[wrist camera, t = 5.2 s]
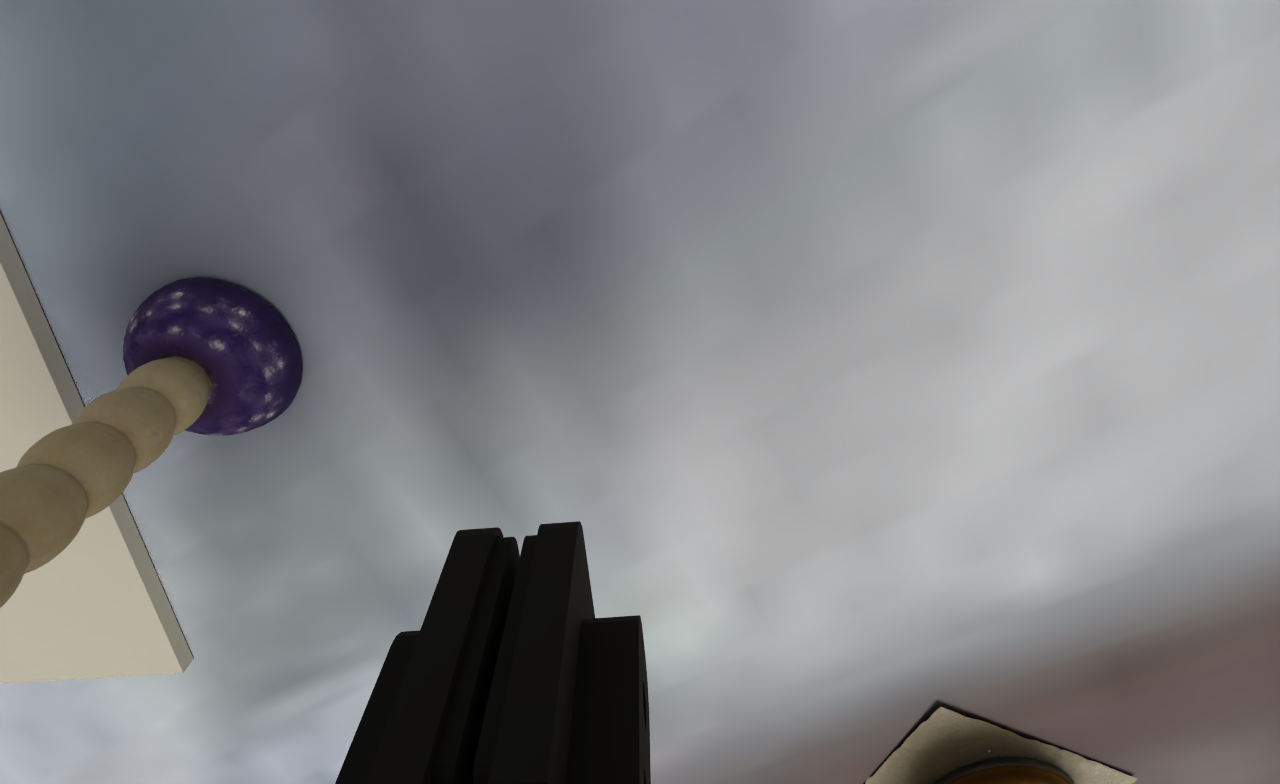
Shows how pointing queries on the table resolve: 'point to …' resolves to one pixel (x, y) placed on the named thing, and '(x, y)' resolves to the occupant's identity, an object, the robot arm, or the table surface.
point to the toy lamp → (149, 412)
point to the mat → (101, 551)
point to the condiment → (985, 757)
